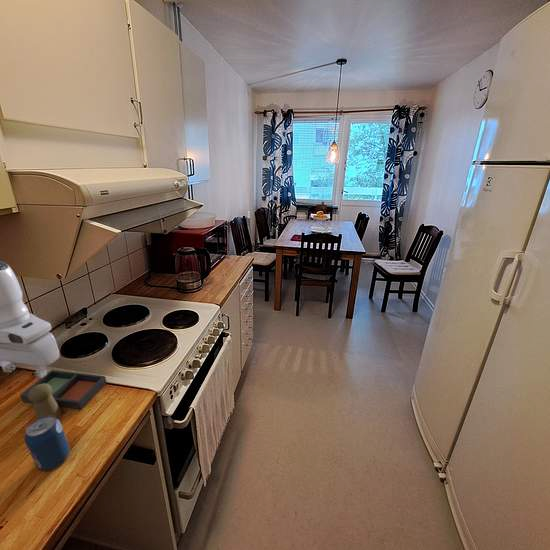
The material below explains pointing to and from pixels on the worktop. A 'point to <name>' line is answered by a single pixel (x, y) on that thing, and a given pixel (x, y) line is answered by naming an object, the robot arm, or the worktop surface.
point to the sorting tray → (70, 388)
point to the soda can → (47, 443)
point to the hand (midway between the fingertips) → (26, 373)
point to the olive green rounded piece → (44, 401)
